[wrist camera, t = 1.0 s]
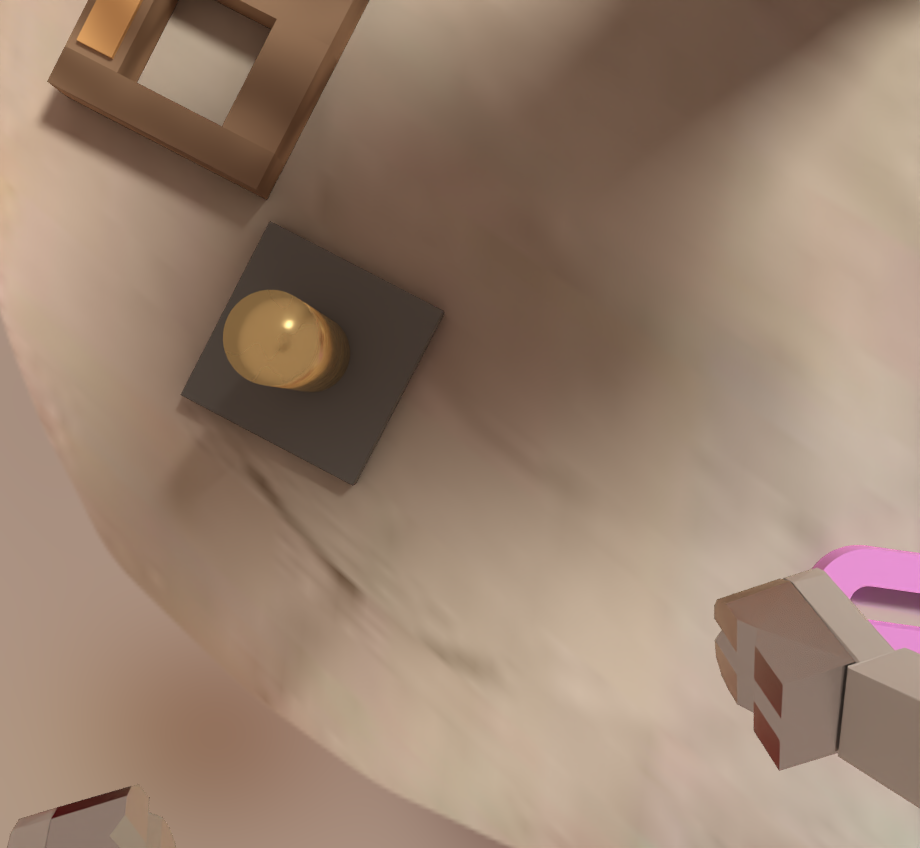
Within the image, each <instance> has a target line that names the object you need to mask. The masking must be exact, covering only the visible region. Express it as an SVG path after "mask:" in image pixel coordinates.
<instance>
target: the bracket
mask: <svg viewBox="0 0 920 848" xmlns="http://www.w3.org/2000/svg"><path fill="white" fill-rule="evenodd" d="M814 568H819V569H821V570H823V571H825V572H826V573H827V574H828V575H829V577H830V578H831V579H832V580H833V581H834V582H835V583H836V584H837V586H838V587H839V588H840V589H841V590H842V591H843V592H844V594H845V595H846V596H847V597H848V598H849V599H851V596H852V595H853V593H854V592H855V591H856V590H858V589H859V588H861V587H865V586H872V587H879V588H886V589H894V590H901V591H908V592H915V593H920V553H915V552H908V551H901V550H893V549H886V548H879V547H872V546H864V545H851V546H845V547H841V548H839V549H836V550H834V551H832V552H830V553H828V554H827V555H825V556H824V557H823V558H821V559H820V560H819V561H818V562H817V563H816V564H815V566H814V567H813V568H812V569H814ZM868 621H869V622H870V623H871V624H872V625H873V626H874V627H875V629H876V630H877V631H878V632H879V633H880V634H881V635H882V636H883V638H884V639H885V640H886V641H887V642H888V643H889V644H890V645H891V647H892V648H893V649H894V650H898V649H902V648H907V649H910V650H912V651H914V652H917V653H919V654H920V627H917V626H910V625H903V624H896V623H889V622H882V621H875V620H868Z"/></svg>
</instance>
